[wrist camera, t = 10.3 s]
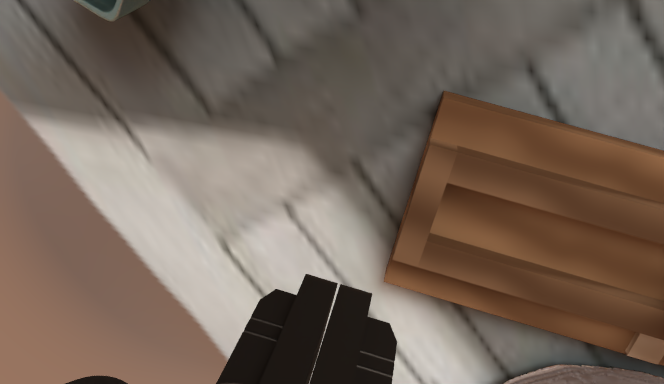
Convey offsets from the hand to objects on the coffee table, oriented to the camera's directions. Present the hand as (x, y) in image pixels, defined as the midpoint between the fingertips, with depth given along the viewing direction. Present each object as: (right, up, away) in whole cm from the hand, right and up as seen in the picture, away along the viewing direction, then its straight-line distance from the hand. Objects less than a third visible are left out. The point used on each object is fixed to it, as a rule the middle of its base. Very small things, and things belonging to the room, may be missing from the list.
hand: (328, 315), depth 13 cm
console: (+20, -1, +32) cm, 38 cm away
